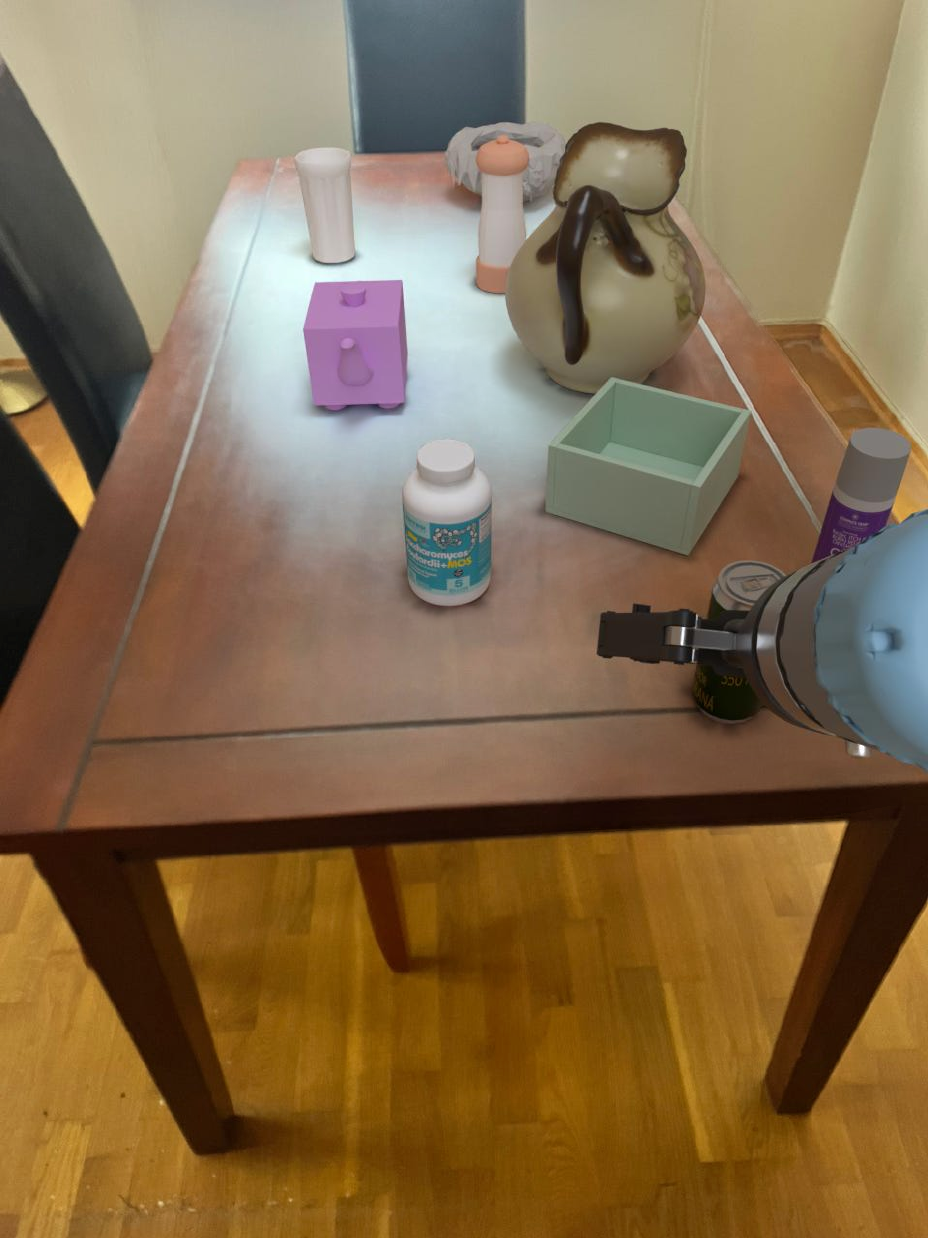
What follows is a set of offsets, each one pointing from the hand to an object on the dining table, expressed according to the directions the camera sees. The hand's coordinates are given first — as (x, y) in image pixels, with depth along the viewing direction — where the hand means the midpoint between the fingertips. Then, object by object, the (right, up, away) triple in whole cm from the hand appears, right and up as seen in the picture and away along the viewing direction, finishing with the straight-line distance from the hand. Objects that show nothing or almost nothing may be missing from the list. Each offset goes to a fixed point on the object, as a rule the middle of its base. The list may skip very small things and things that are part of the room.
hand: (755, 653), depth 60 cm
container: (+13, +5, +21) cm, 26 cm away
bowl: (-11, +74, +98) cm, 123 cm away
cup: (-38, +57, +80) cm, 105 cm away
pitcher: (-2, +32, +51) cm, 60 cm away
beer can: (+2, -4, +12) cm, 13 cm away
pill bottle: (-20, +5, +23) cm, 31 cm away
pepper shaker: (-13, +50, +72) cm, 88 cm away
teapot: (-31, +28, +49) cm, 64 cm away
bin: (-1, +15, +33) cm, 36 cm away
